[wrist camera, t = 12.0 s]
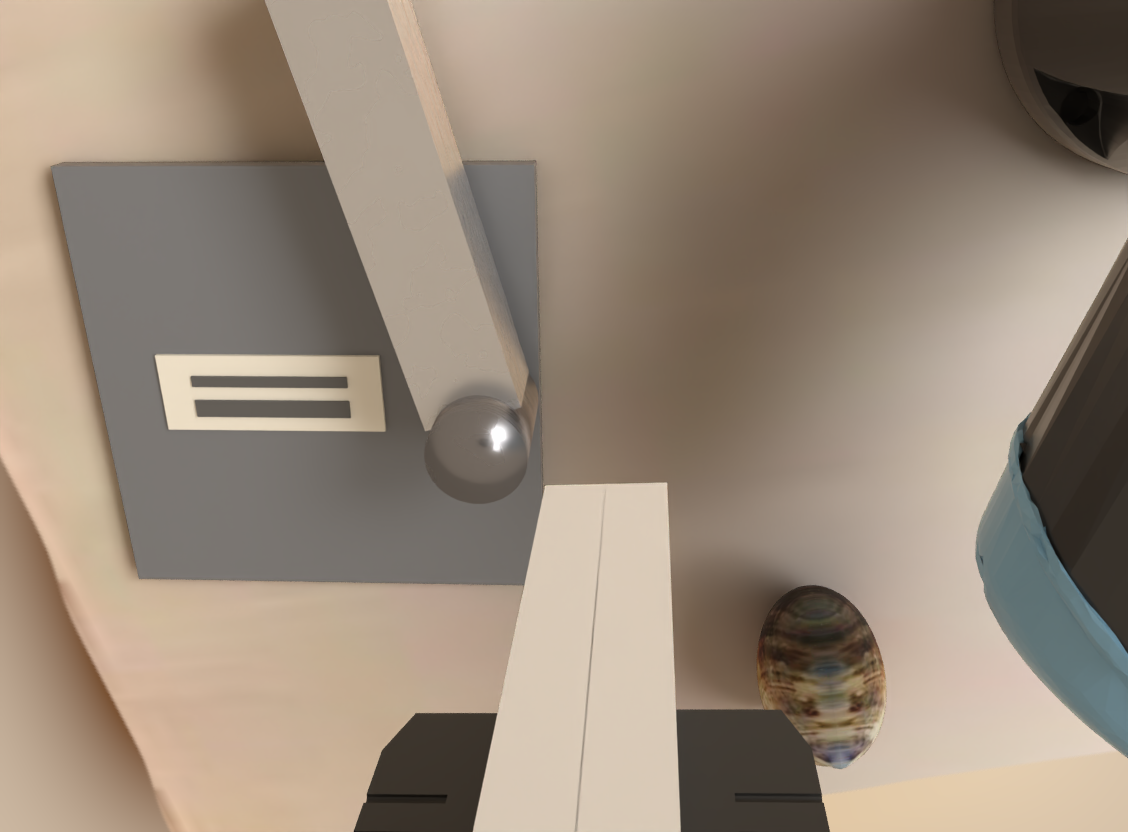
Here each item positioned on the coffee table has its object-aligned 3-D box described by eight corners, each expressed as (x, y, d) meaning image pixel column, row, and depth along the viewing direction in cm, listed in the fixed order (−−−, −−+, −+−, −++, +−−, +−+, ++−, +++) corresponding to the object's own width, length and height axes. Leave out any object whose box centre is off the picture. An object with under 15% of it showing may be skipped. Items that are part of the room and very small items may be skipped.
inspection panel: (535, 160, 41) (533, 166, 40) (544, 574, 49) (543, 589, 48) (62, 162, 42) (46, 167, 41) (147, 567, 50) (135, 582, 49)
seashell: (868, 698, 51) (911, 818, 44) (757, 710, 52) (781, 830, 44) (858, 540, 47) (903, 642, 40) (738, 555, 48) (760, 658, 41)
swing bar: (549, 427, 44) (540, 491, 39) (464, 448, 45) (443, 513, 39) (387, -79, 36) (347, -90, 31) (287, -46, 37) (229, -50, 31)
